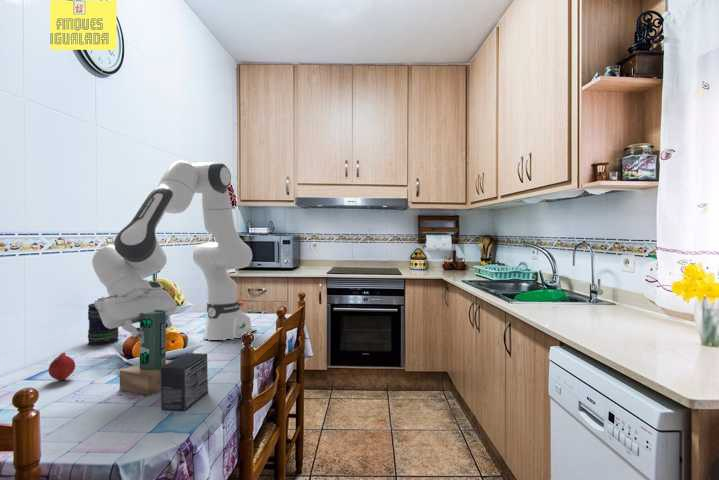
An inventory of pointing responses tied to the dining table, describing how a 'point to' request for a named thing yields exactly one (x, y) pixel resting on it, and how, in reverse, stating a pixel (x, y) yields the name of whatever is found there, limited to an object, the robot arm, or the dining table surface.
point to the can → (153, 340)
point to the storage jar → (99, 329)
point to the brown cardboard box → (141, 380)
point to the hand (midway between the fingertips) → (154, 331)
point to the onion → (61, 367)
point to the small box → (184, 382)
